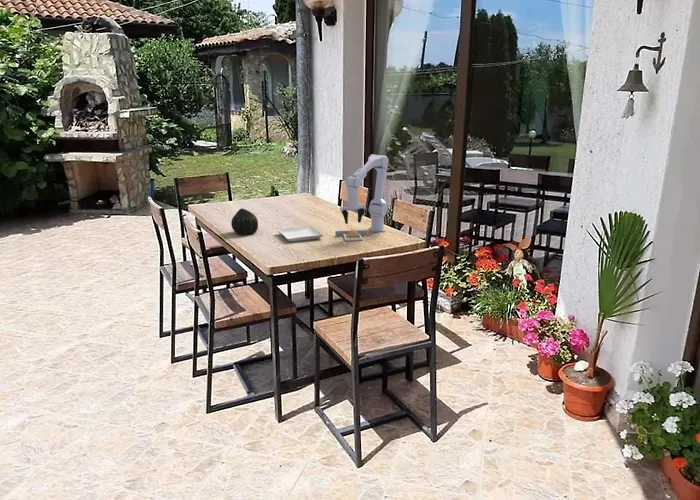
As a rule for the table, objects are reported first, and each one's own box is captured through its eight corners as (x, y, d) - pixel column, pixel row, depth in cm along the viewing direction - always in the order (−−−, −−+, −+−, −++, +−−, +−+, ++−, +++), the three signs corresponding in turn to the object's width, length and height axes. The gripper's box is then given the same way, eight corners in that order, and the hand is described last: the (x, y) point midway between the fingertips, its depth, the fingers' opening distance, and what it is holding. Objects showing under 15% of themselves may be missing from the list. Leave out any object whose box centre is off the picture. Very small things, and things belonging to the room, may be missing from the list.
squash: (258, 227, 299) (256, 204, 305) (230, 229, 297) (229, 206, 303) (259, 239, 312) (257, 216, 318) (233, 241, 310) (232, 218, 316)
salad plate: (287, 244, 289) (287, 238, 288) (276, 234, 307) (276, 228, 306) (324, 240, 297) (324, 234, 296) (311, 231, 316) (311, 225, 315)
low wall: (335, 236, 304) (335, 230, 303) (366, 235, 306) (366, 230, 305) (335, 236, 303) (335, 231, 302) (367, 235, 305) (367, 230, 304)
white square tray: (342, 236, 303) (342, 233, 303) (360, 236, 304) (360, 233, 304) (344, 241, 294) (344, 238, 293) (362, 240, 295) (362, 238, 294)
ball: (346, 237, 300) (346, 228, 299) (355, 236, 302) (355, 227, 301) (350, 239, 296) (350, 230, 294) (358, 238, 298) (358, 230, 296)
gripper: (362, 196, 299) (362, 220, 303) (337, 198, 293) (338, 222, 297) (367, 198, 292) (367, 222, 296) (342, 200, 287) (342, 225, 291)
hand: (352, 222), depth 296 cm, fingers open, 7 cm apart
